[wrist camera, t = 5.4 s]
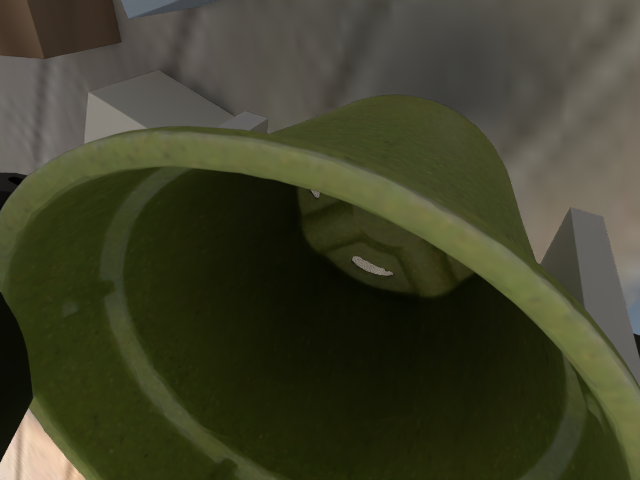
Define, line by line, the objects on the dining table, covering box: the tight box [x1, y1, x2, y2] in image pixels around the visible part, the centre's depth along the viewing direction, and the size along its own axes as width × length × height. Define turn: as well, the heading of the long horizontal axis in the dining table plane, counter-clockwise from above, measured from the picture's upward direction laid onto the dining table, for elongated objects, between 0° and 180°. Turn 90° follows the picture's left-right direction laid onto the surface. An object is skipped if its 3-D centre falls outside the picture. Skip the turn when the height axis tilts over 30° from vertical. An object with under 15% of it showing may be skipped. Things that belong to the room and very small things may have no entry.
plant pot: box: [0, 95, 640, 480], centre depth 10 cm, size 9×9×9 cm
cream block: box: [84, 70, 235, 144], centre depth 25 cm, size 5×5×5 cm
